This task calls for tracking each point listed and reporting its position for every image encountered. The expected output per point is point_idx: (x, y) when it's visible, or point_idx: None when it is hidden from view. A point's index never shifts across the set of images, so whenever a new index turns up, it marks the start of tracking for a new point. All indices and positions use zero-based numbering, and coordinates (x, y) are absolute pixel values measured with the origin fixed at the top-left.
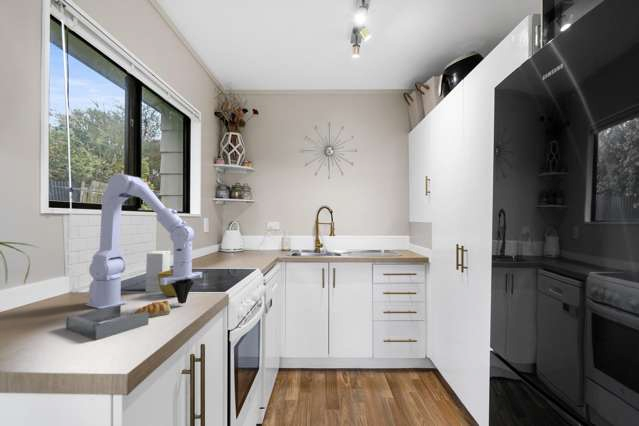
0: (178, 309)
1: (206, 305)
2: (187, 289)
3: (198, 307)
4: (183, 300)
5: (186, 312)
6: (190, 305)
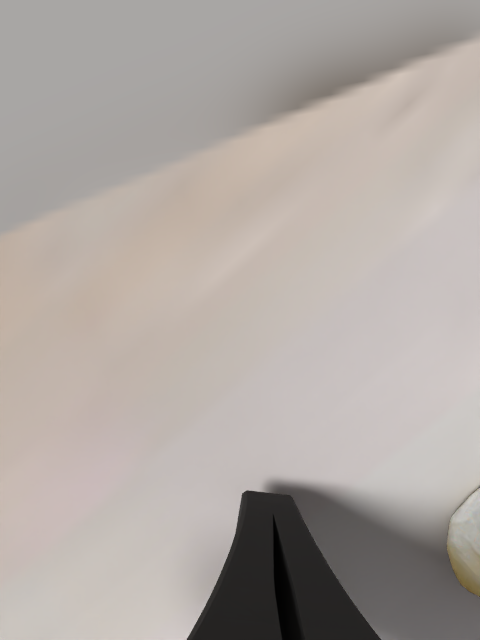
0: (383, 437)
1: (123, 262)
2: (262, 638)
3: (237, 292)
4: (289, 515)
5: (462, 274)
6: (209, 433)
